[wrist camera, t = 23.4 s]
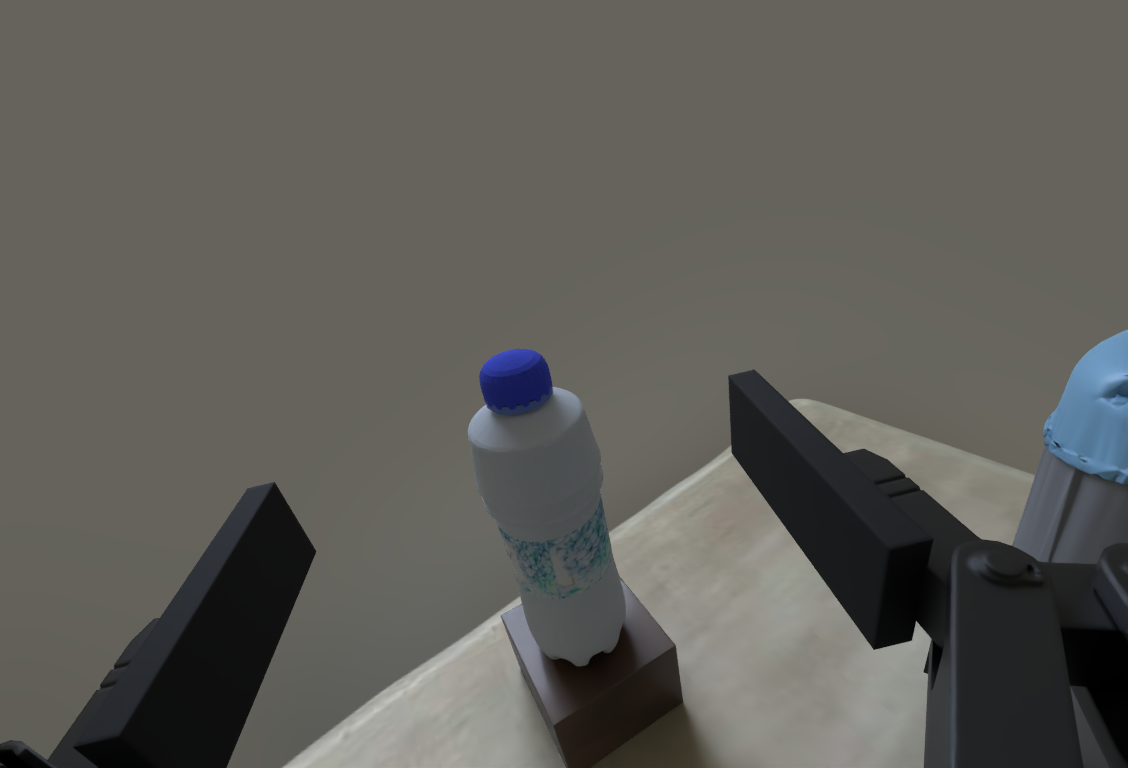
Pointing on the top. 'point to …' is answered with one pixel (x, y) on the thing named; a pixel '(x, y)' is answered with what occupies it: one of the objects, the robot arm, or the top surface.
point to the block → (601, 685)
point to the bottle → (548, 505)
